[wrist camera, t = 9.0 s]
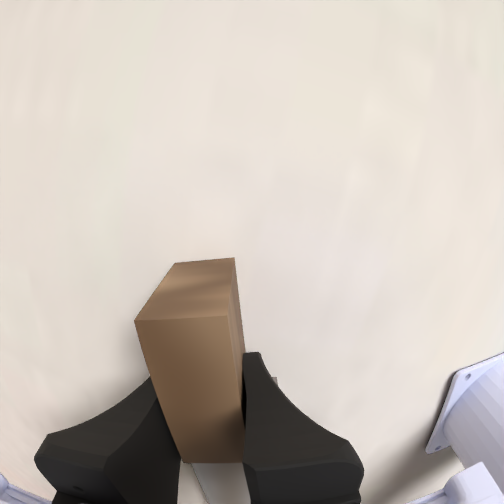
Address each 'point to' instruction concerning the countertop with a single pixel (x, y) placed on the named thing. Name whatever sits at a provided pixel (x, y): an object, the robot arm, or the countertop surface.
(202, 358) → the putty knife
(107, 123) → the countertop surface
